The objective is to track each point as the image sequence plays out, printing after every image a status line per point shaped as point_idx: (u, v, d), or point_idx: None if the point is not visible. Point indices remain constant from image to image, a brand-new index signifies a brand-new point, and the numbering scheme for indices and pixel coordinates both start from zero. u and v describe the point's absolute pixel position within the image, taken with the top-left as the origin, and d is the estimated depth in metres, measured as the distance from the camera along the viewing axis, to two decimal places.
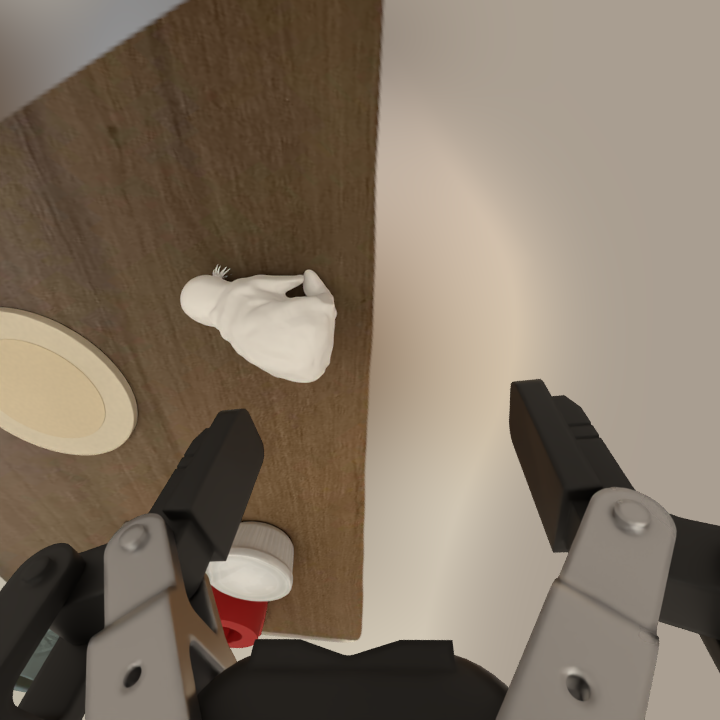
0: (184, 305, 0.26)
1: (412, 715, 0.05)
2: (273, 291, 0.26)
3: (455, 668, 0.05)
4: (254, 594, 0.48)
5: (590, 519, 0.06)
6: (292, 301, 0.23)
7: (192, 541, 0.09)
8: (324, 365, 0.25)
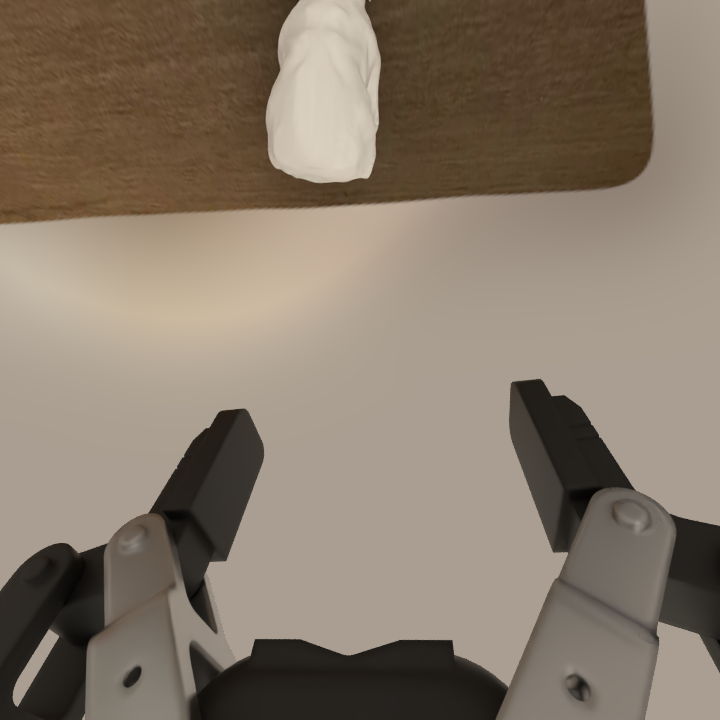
0: None
1: (412, 715, 0.05)
2: (366, 88, 0.21)
3: (455, 668, 0.05)
4: None
5: (590, 519, 0.06)
6: (374, 128, 0.20)
7: (192, 541, 0.09)
8: (302, 177, 0.21)
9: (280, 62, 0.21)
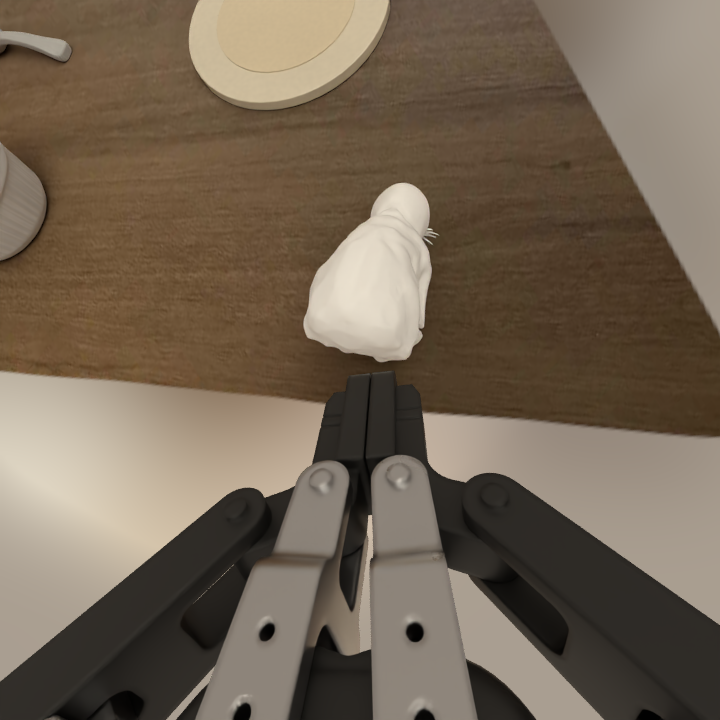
0: (404, 185, 0.22)
1: None
2: None
3: None
4: None
5: (376, 495, 0.08)
6: (420, 307, 0.19)
7: (361, 490, 0.09)
8: (332, 337, 0.18)
9: None
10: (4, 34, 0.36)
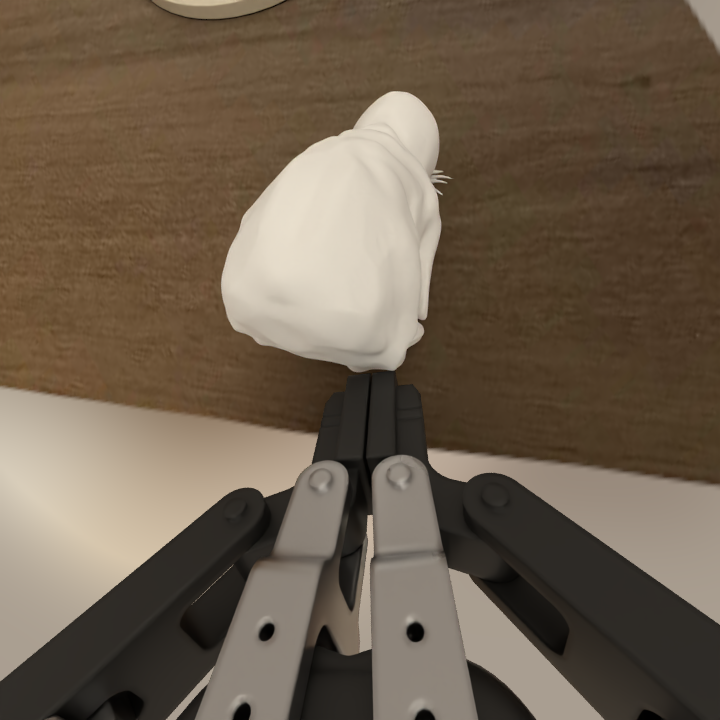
0: (401, 93, 0.14)
1: None
2: None
3: None
4: None
5: (377, 494, 0.08)
6: (421, 279, 0.10)
7: (360, 490, 0.09)
8: (261, 329, 0.10)
9: None
10: None
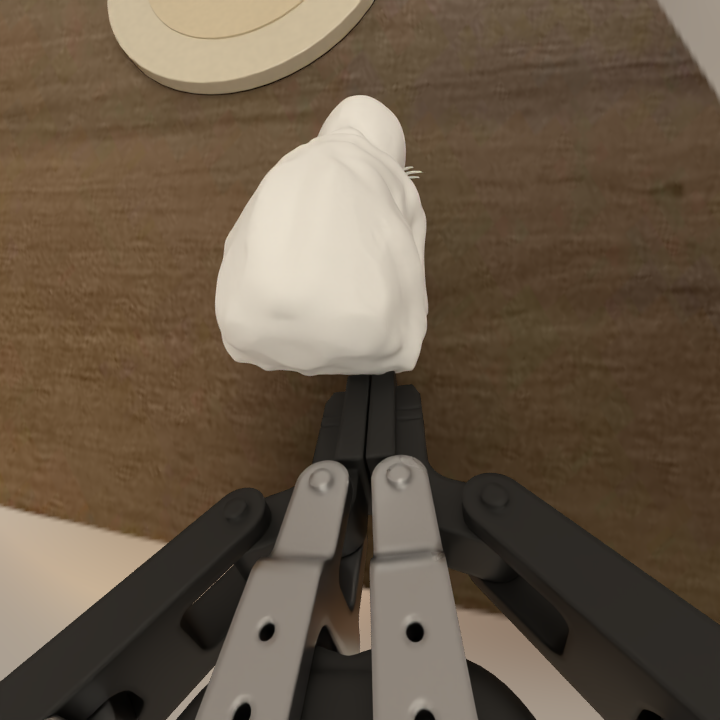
0: (358, 96, 0.14)
1: None
2: None
3: None
4: None
5: (376, 494, 0.08)
6: (422, 270, 0.10)
7: (360, 490, 0.09)
8: (267, 352, 0.09)
9: None
10: None
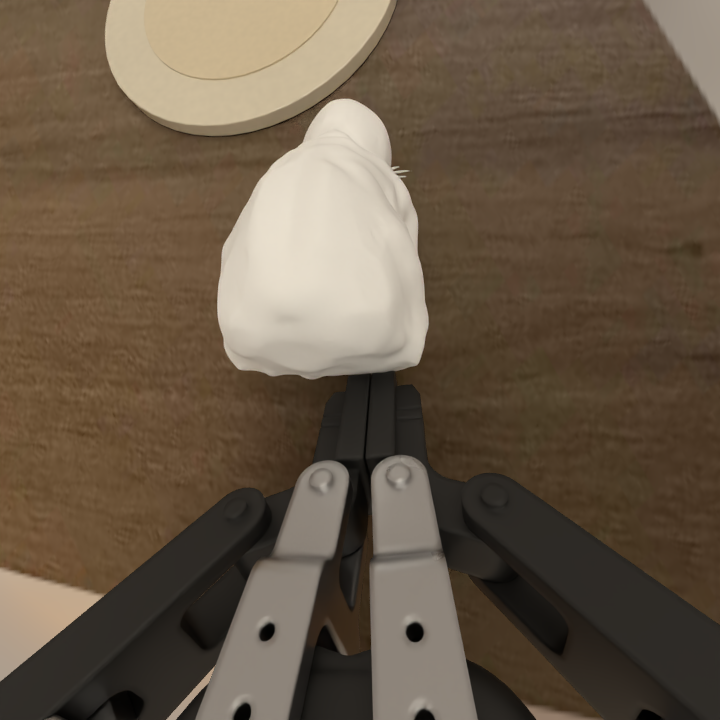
0: (341, 100, 0.14)
1: None
2: None
3: None
4: None
5: (376, 495, 0.08)
6: (420, 266, 0.10)
7: (361, 490, 0.09)
8: (273, 357, 0.09)
9: None
10: None
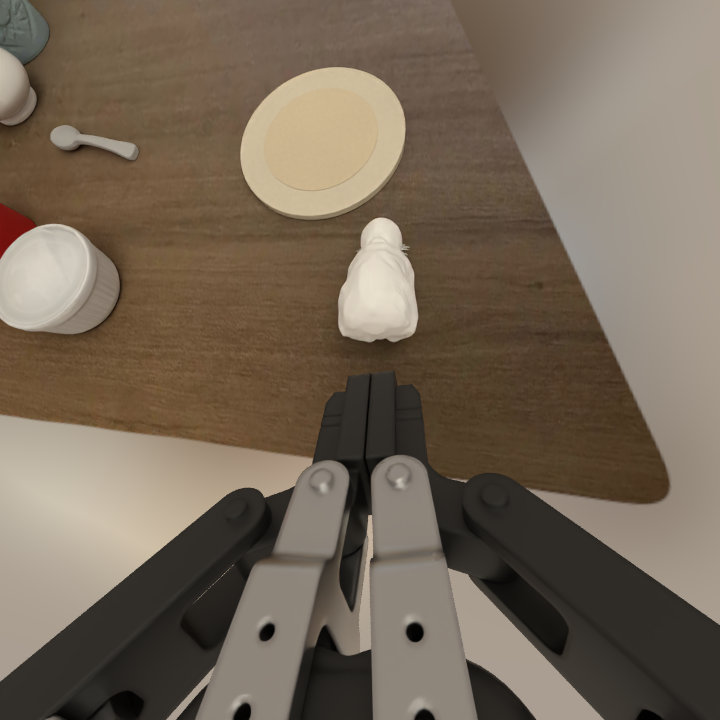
0: (380, 219, 0.32)
1: None
2: None
3: None
4: (8, 276, 0.37)
5: (376, 495, 0.08)
6: None
7: (361, 490, 0.09)
8: (364, 328, 0.27)
9: None
10: (83, 137, 0.44)
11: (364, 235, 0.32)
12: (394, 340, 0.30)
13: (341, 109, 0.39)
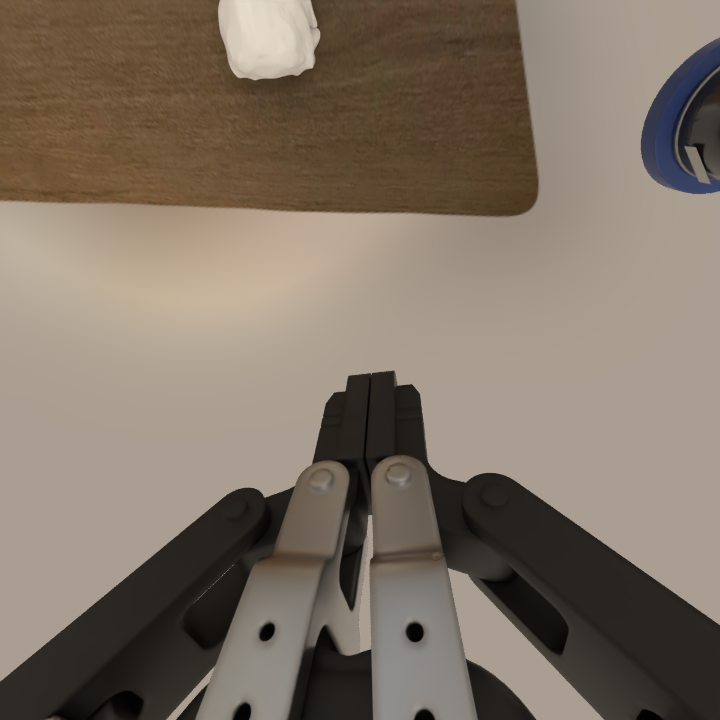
0: None
1: None
2: None
3: None
4: None
5: (376, 495, 0.08)
6: (306, 16, 0.24)
7: (361, 490, 0.09)
8: (257, 72, 0.25)
9: None
10: None
11: None
12: (295, 75, 0.28)
13: None
